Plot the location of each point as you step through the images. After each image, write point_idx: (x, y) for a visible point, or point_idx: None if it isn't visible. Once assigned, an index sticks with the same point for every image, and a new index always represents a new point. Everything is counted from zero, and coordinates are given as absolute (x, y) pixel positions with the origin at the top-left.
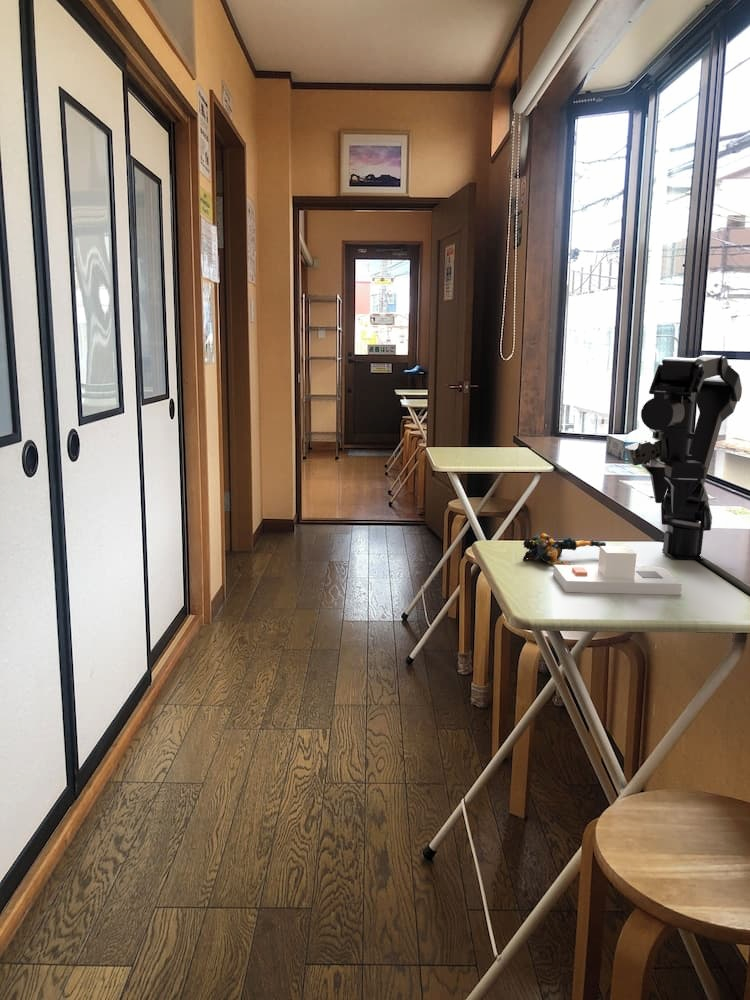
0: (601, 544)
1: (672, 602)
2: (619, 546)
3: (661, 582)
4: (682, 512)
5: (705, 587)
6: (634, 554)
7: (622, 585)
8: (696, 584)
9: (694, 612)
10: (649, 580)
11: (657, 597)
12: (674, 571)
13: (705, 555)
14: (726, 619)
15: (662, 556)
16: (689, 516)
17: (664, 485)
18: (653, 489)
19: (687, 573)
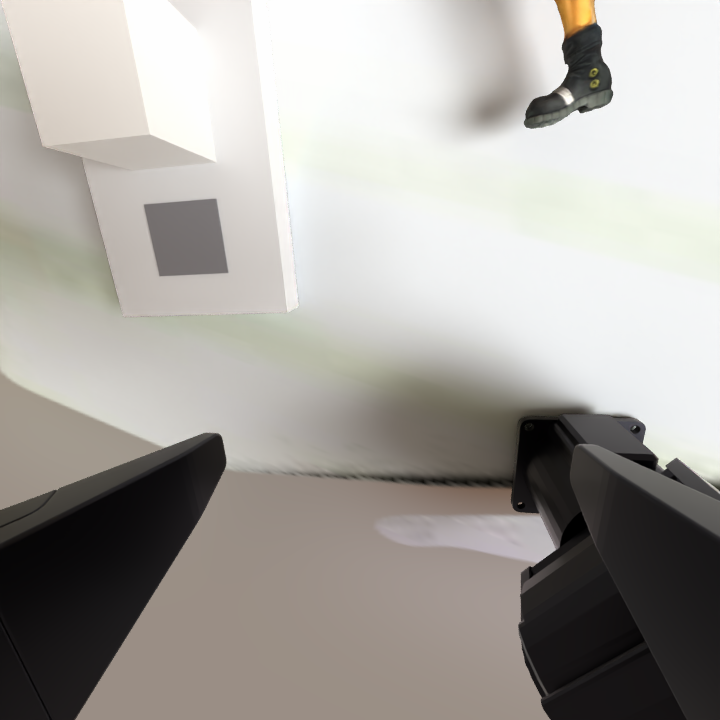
0: (542, 99)
1: (80, 267)
2: (138, 79)
3: (115, 256)
4: (573, 568)
5: (235, 402)
6: (43, 137)
7: None
8: (256, 388)
9: (26, 299)
10: (124, 221)
11: None
12: (378, 373)
13: None
14: (10, 356)
15: (564, 396)
16: (542, 577)
17: (683, 650)
18: (699, 502)
19: (361, 403)
